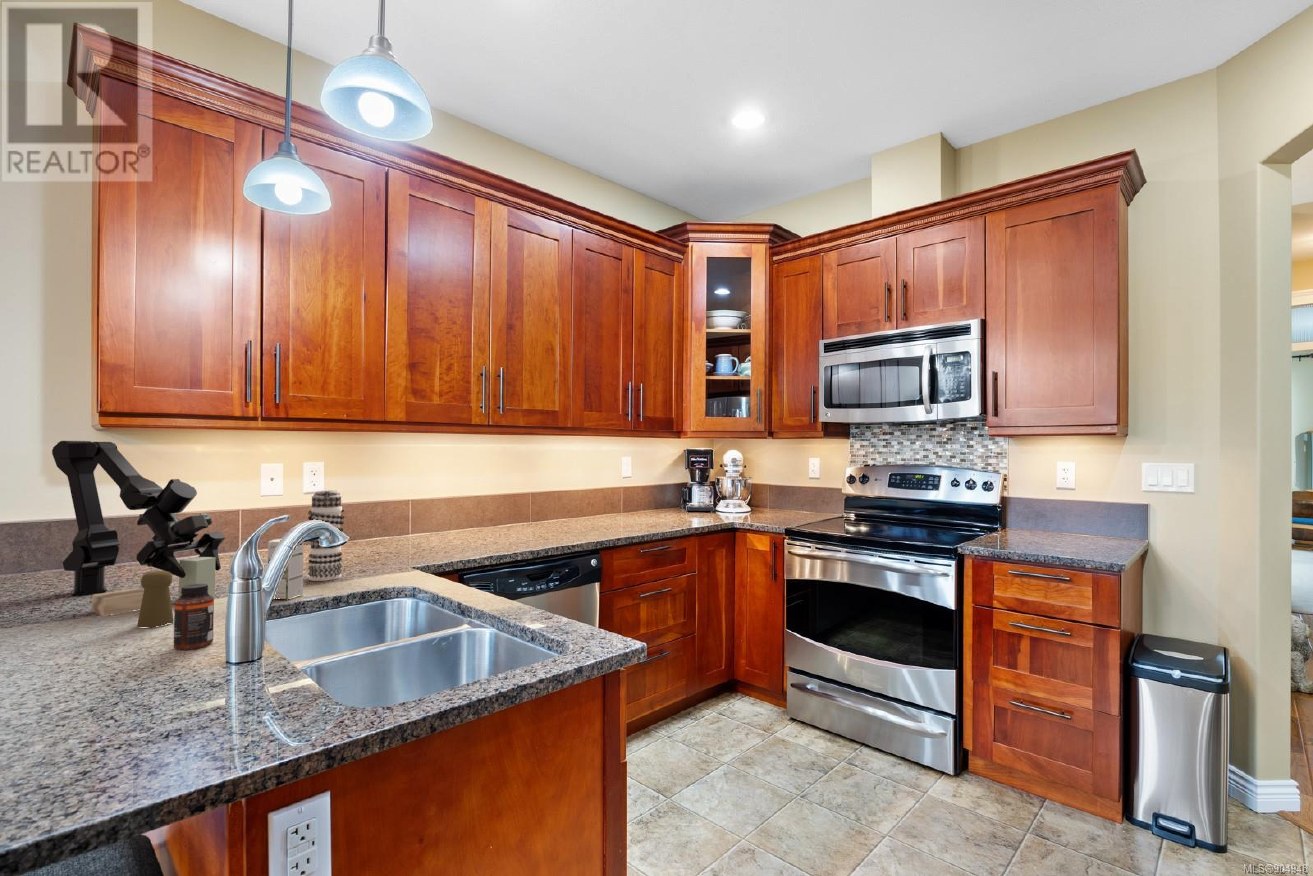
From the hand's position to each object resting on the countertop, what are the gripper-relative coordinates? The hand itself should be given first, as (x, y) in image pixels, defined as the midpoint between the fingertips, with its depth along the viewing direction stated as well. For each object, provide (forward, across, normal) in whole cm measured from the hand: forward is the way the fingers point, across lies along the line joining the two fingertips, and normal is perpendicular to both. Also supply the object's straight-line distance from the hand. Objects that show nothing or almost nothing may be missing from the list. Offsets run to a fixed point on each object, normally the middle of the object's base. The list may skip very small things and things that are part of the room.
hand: (202, 573), depth 150 cm
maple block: (-2, -12, +11) cm, 16 cm away
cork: (+12, -19, -2) cm, 23 cm away
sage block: (+4, 0, +6) cm, 7 cm away
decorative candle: (+12, +30, -2) cm, 32 cm away
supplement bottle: (+27, -29, -17) cm, 43 cm away
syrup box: (+17, +7, -8) cm, 20 cm away
